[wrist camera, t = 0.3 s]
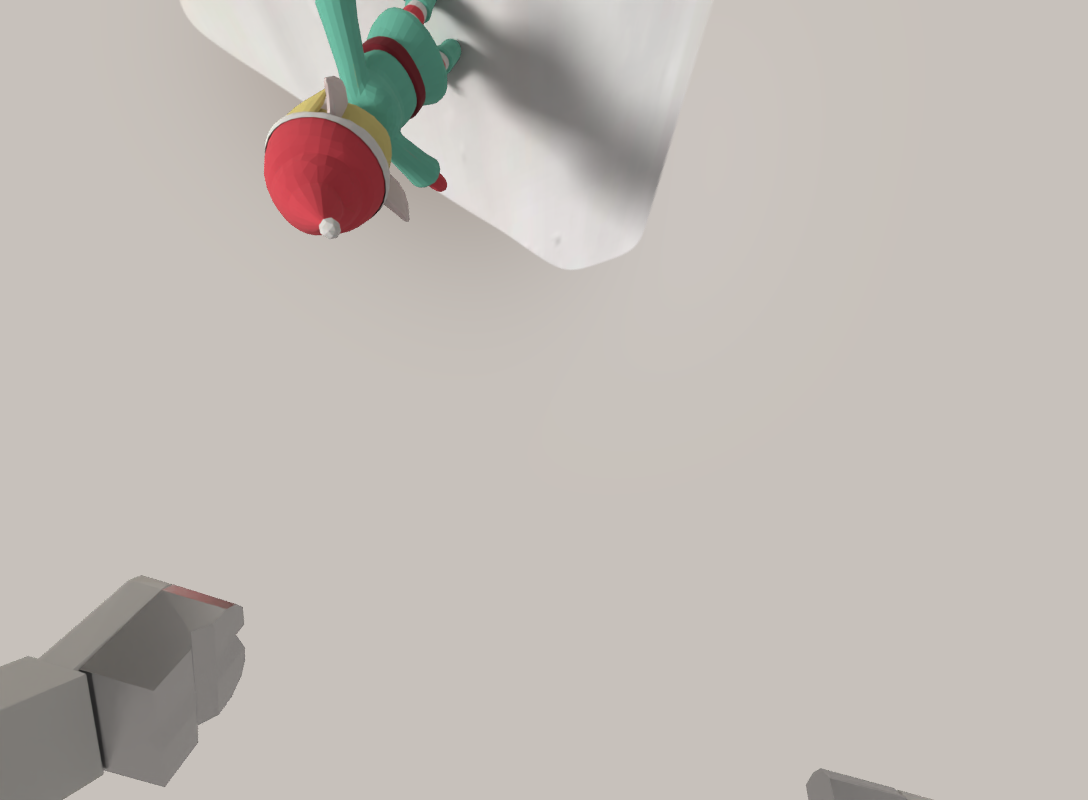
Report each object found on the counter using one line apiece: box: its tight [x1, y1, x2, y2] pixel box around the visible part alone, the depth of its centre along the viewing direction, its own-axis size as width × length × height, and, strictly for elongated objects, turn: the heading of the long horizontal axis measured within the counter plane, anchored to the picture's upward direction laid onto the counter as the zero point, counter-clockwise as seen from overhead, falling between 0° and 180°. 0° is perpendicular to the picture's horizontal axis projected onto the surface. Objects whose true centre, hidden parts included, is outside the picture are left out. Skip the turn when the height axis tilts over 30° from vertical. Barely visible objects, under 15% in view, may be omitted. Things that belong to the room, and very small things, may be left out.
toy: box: [264, 0, 461, 239], centre depth 45 cm, size 17×8×30 cm, turn 20°
